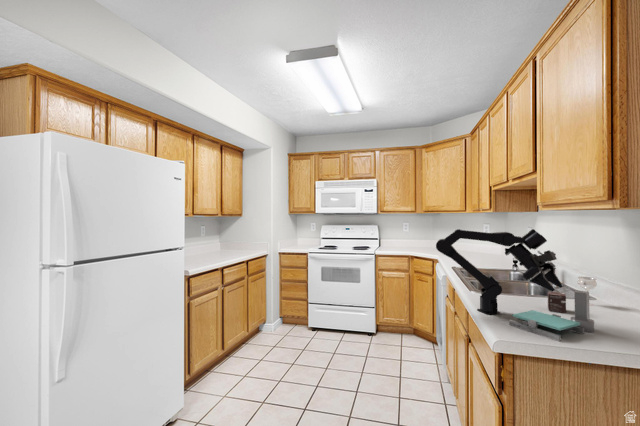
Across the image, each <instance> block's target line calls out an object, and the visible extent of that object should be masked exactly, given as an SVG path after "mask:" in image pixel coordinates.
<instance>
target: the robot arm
mask: <svg viewBox="0 0 640 426" xmlns="http://www.w3.org/2000/svg"><path fill="white" fill-rule="evenodd" d="M462 239H464V240H473V241H482V242H489V243H493V244H496V245H500V246H502V247H503V246H505V247H509V248H504V251H505V252H504V255H505V256H507V257H508V256H509V255H510V254H511V255H512V257H513V258H514V259H516V260H517V261H518V262H519V263H518V264H519V265H520V266H521V267H522V266H523V267H524V268H525V269H526V271H525V272H523V273H522V277H523V279H524V280H525V281H527V282H528V281H529V282H530V283H533V284H535V285H537V286H540V287H542V288H544V289H546V290H548V291H549V292H555V288H554V286H556V287H557V288H563V287H564V285H563V284H562V283H561V281H560V279H559V278H558V276H557V274H556V269H557V266H556V265H555V264H554V263H553V262H552V261H555V260H558V258H557V257H556V253H555V252H554V251H551V250H546V251H543V254H540V255H537V253H532V252H531V251H530V250H534V251H535V250H537V249H538V248H539V247H541V246H542V245H544V244H545V243H546V242H548V239H546V238H545V237H544V236H543V235H542V234H540V233H539V232H538V231H536V229H533V228H532V229H531V230H528V232H527V233H525V234H524V235H522V236H516V235H514V233H511V232H509V231H498V232H497V231H496V232H495V231H494V232H487V231H485V232H484V231H474V230H465V229H460V228H459V229H458V228H457V229H455V230H454V231H453V232H452V233H451V234H448V235H447V236H446V237H445V238H440V239H438V240H437V242H436V244H435V248H436V250H437V251H438V252H440V253H441V254H442V255H444V256H446V257H448V258H450V259H451V260H453V261H455V263H457V264H458V265H459V266H460V267H461V268H462V269H464V271H466V272H467V273H468V274H470V275H471V276H472V277H473V278H474V279H475V280H477V281H478V283H479V284H480V285H481V286H482V288H481V289H479V292H480V294H481V295H479V308H476V310H477V311H478V312H481V313H483V314H486V315H495V314H501V311H498V299H497V298H498V296H499V295H501V294H502V292H503V287H502V285H501V282H500V280H499V279H497V278H495V277H494V276H493V275H492V274H491V273H489V274H488V275H487V274H485V273H484V272H482V271H481V270H480V269H478V267H476V266H475V265H474V264H472V263H471V262H470V261H469V260H467V259H466V257H464V256H463V255H461V253H459V252H458V251H457V250H456V249H455V247H454V246H453V245H454V244H455V243H456V242H458V241H459V240H462ZM553 285H554V286H553Z"/></svg>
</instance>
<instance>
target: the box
mask: <svg viewBox="0 0 640 426" xmlns="http://www.w3.org/2000/svg"><path fill="white" fill-rule="evenodd" d="M547 309H548V311H549V312H553V313H561V314H563V313H564V314H566V313H567V297H566V294H565V293H564V292H557V291H550V290H548V291H547Z"/></svg>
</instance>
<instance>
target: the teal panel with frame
mask: <svg viewBox="0 0 640 426" xmlns="http://www.w3.org/2000/svg"><path fill="white" fill-rule="evenodd" d="M551 315H553V316H557V317H560V318H562V316H561V315H558V314H554V313H552V314H551ZM508 325H509V326H512V327H515V328H518V329H521V330H523V331H526V332H530V333H533V334H536V335H538V336H542V337H546V338H548V339H551V340H554V341H558V342H561V340H562V335H561V334H558V333H554V332H552V331H549V330H546V329H541V328H539V327H538V326H539V324H538V321H534V320H531V319H530V320H529V321H528V324H526V323H524V322H520V321H516V320H514V319H509V320H508ZM565 330H567V331H571V332H572V333H573V332H574V333H576V334H581V335H584V334H585V332H584V328H580V327H577V326H575V327H571V328H567V329H565Z"/></svg>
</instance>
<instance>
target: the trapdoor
mask: <svg viewBox="0 0 640 426" xmlns="http://www.w3.org/2000/svg"><path fill="white" fill-rule="evenodd" d="M512 317H513V318H517V319H518V320H519V321H522V322H529V320H530V319H531V320H534V321H538V326H539V325H540V326H543V327H546V328H550V329H554V330H557V331H563V330H566V329H567V328H571V327H575V326H579V325H580V323H579V322H576V321H572V320H571V319H567V318H563V317H561V318H560V317H557V316H553V315H552V314H549V313H546V312H545V313H544V312H542V311H537V310H533V309H532V310H527V311H524V312H518V313H513V314H512Z"/></svg>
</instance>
